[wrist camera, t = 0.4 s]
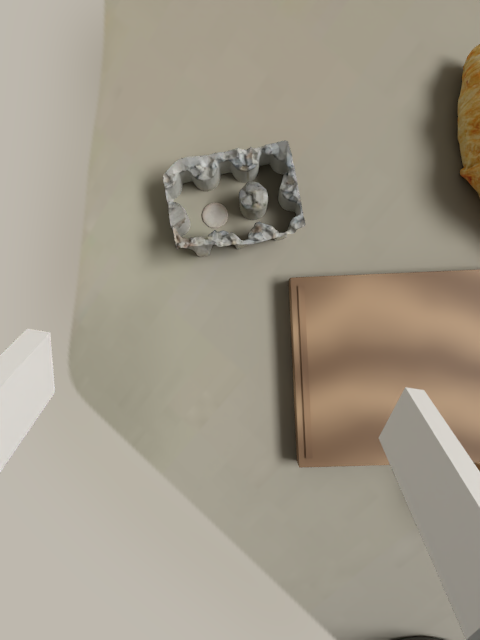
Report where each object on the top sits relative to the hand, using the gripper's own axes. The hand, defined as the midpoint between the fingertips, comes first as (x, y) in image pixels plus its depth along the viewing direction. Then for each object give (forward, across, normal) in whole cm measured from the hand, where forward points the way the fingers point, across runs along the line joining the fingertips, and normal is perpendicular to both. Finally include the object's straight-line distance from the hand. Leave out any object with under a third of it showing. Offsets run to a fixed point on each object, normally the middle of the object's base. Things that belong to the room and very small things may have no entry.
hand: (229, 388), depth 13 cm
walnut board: (+14, -15, +6) cm, 21 cm away
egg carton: (+21, 0, -2) cm, 21 cm away
